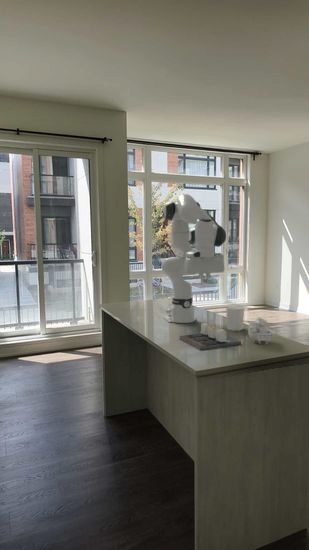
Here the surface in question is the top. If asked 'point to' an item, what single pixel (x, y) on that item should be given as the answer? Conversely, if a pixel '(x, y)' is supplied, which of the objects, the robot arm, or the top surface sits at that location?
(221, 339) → the breaker right
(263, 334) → the mechanical part
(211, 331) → the breaker mid
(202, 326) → the breaker left
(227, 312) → the candle holder
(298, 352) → the top surface
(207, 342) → the panel
